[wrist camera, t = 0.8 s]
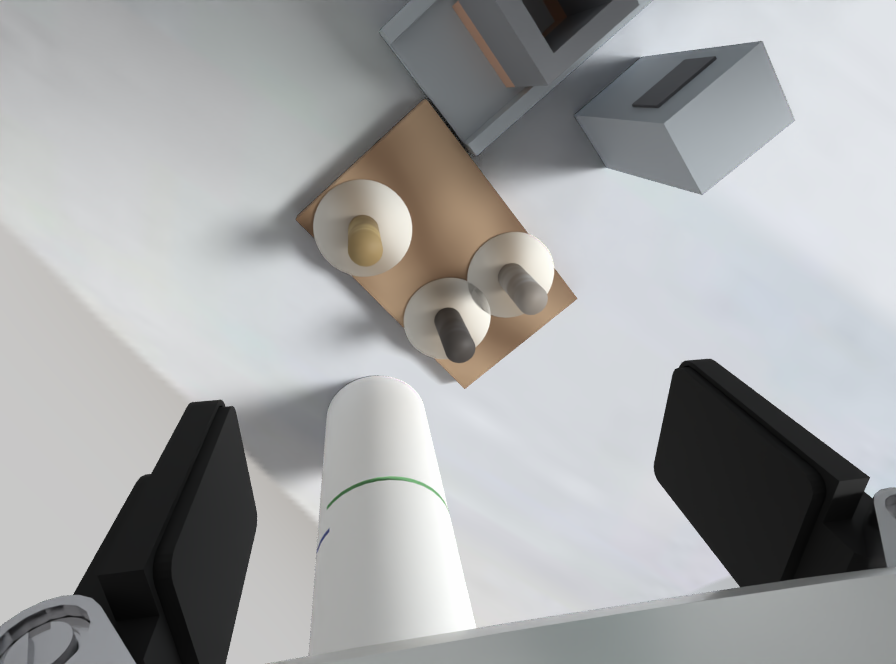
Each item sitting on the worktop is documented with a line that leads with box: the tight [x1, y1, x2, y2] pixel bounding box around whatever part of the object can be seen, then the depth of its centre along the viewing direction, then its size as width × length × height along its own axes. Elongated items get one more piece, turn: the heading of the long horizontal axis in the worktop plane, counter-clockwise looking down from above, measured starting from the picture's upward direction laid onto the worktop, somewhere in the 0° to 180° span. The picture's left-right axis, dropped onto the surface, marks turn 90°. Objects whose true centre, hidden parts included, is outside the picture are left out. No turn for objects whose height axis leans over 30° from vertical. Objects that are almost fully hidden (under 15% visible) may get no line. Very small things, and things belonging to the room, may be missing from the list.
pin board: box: [296, 99, 577, 389], centre depth 31 cm, size 11×16×6 cm
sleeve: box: [452, 0, 640, 88], centre depth 25 cm, size 5×5×7 cm
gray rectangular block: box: [574, 41, 795, 195], centre depth 27 cm, size 5×4×10 cm
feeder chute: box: [379, 0, 653, 156], centre depth 27 cm, size 14×8×2 cm, turn 129°
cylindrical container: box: [309, 376, 476, 656], centre depth 27 cm, size 7×7×25 cm
